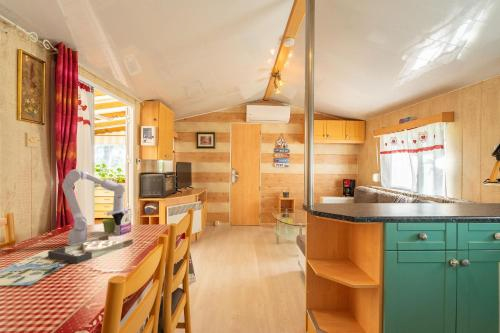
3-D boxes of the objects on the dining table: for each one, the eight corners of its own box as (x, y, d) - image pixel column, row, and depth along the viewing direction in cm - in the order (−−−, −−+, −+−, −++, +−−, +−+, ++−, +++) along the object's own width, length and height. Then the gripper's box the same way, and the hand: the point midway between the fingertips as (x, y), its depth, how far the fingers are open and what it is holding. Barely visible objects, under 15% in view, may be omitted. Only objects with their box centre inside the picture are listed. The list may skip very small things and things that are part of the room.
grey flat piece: (63, 252, 139) (63, 247, 139) (107, 240, 165) (107, 235, 165) (91, 258, 132) (91, 252, 132) (132, 244, 158) (132, 239, 158)
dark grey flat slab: (48, 257, 132) (48, 251, 132) (63, 252, 139) (63, 247, 139) (77, 263, 125) (77, 257, 125) (91, 258, 132) (91, 252, 132)
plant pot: (112, 234, 179) (112, 221, 179) (98, 233, 179) (99, 220, 179) (119, 230, 188) (119, 218, 188) (106, 230, 188) (107, 218, 188)
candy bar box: (124, 231, 188) (125, 208, 188) (131, 231, 187) (131, 208, 187) (113, 234, 177) (114, 210, 177) (120, 235, 176) (121, 211, 176)
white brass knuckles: (77, 254, 139) (86, 246, 153) (115, 252, 144) (120, 244, 158) (77, 248, 139) (86, 240, 153) (115, 246, 144) (120, 239, 158)
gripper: (113, 205, 157) (113, 228, 157) (132, 202, 171) (131, 223, 171) (105, 204, 160) (104, 226, 160) (123, 201, 174) (123, 222, 173)
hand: (117, 225), depth 166 cm, fingers closed
